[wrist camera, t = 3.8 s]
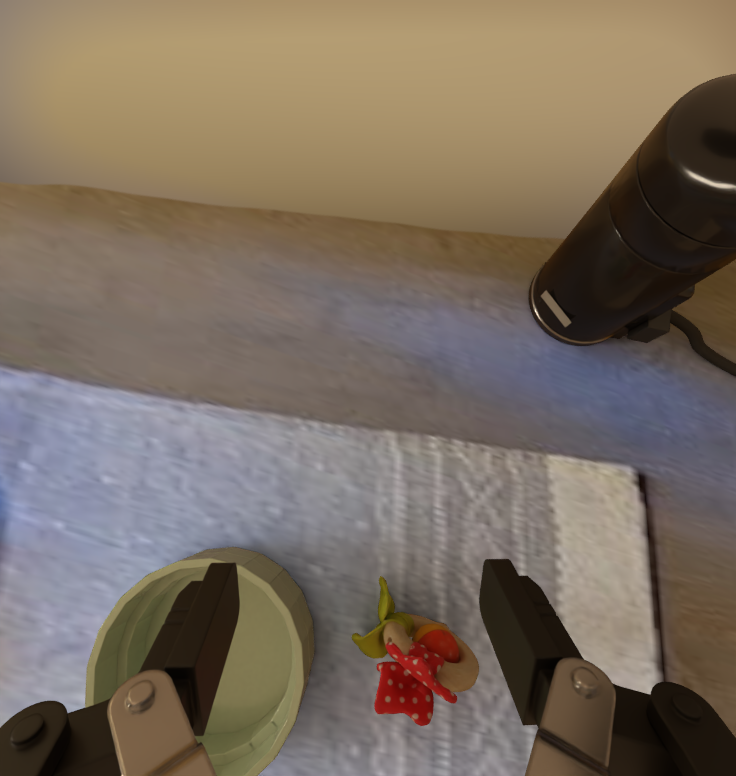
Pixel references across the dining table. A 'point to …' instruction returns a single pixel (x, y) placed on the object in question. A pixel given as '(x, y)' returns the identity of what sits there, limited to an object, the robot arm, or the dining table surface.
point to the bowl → (244, 661)
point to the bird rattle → (416, 661)
